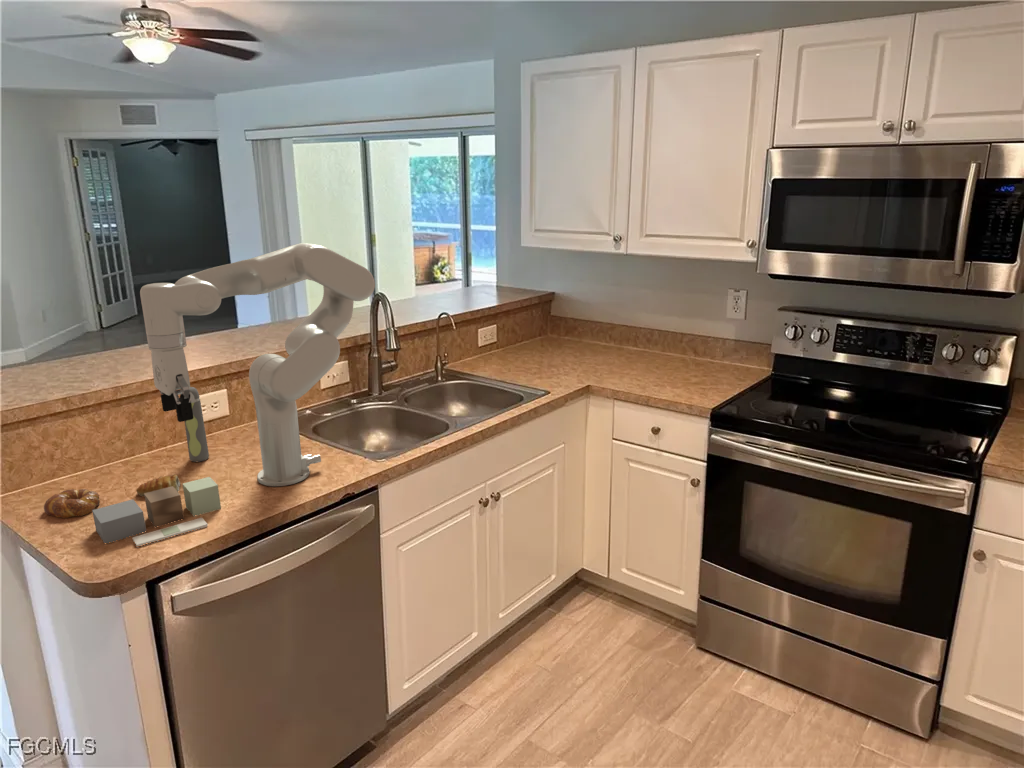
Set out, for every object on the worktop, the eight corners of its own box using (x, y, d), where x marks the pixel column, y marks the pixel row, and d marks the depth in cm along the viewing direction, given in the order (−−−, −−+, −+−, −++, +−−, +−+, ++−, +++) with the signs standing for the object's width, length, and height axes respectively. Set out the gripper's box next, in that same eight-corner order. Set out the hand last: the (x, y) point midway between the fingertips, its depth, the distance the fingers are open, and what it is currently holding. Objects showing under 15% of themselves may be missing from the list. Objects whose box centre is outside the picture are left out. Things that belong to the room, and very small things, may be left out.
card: (202, 519, 156) (201, 517, 156) (207, 526, 153) (207, 523, 153) (132, 540, 148) (132, 537, 148) (137, 547, 145) (136, 544, 145)
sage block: (213, 500, 166) (209, 476, 164) (221, 509, 161) (217, 485, 160) (186, 507, 162) (182, 483, 161) (193, 516, 158) (189, 492, 156)
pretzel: (110, 508, 163) (108, 493, 162) (58, 526, 155) (54, 510, 154) (90, 494, 170) (87, 480, 169) (39, 510, 162) (35, 495, 161)
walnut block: (176, 510, 161) (172, 486, 159) (184, 519, 157) (180, 494, 155) (148, 518, 157) (143, 493, 156) (155, 528, 153) (150, 502, 151)
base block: (136, 519, 157) (132, 499, 156) (146, 532, 151) (143, 511, 150) (96, 531, 152) (92, 510, 151) (105, 545, 146) (100, 523, 145)
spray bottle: (193, 455, 192) (183, 385, 186) (212, 455, 192) (202, 385, 186) (186, 462, 187) (175, 390, 182) (205, 462, 188) (195, 390, 182)
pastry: (136, 501, 166) (133, 486, 165) (139, 490, 172) (136, 475, 171) (179, 494, 169) (177, 480, 168) (181, 484, 175) (179, 469, 174)
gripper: (136, 337, 157) (148, 410, 162) (161, 350, 145) (173, 428, 150) (171, 332, 162) (182, 403, 167) (199, 344, 150) (209, 420, 154)
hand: (178, 415), depth 158 cm, fingers open, 9 cm apart
